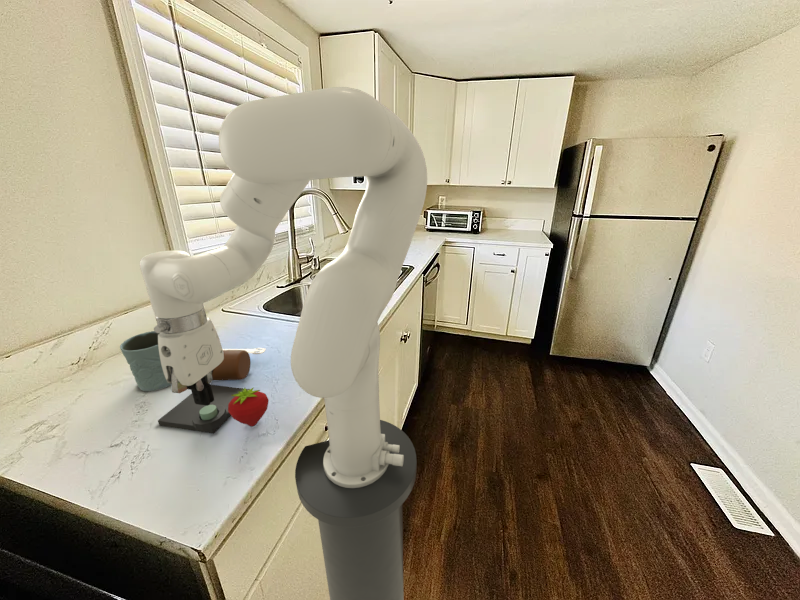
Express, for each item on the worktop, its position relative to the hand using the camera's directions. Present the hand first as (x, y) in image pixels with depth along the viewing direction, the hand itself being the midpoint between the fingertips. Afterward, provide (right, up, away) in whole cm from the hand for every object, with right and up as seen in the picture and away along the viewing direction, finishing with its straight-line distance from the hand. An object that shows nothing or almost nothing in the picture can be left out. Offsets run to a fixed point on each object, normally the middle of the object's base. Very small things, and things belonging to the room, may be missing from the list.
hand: (204, 402), depth 66 cm
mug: (0, +4, +19) cm, 19 cm away
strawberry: (+9, -6, +2) cm, 11 cm away
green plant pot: (-22, 0, +17) cm, 28 cm away
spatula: (-13, +4, +27) cm, 30 cm away
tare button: (0, -3, +1) cm, 3 cm away
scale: (-3, -4, +7) cm, 9 cm away
